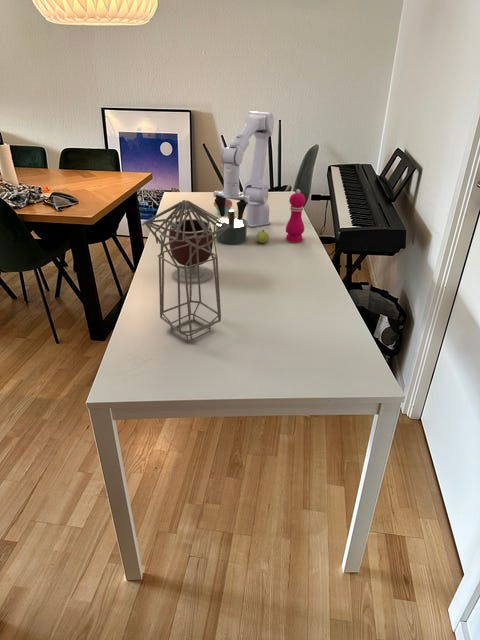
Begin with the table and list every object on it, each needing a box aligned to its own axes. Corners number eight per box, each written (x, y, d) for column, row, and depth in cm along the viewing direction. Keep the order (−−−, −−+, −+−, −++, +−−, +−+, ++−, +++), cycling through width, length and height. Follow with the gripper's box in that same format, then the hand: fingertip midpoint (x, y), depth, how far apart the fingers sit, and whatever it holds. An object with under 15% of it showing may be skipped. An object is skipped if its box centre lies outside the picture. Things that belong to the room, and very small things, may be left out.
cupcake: (231, 217, 201) (232, 190, 195) (213, 216, 201) (212, 189, 195) (232, 211, 208) (232, 185, 202) (214, 210, 209) (213, 184, 202)
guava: (264, 239, 177) (264, 226, 175) (270, 243, 174) (271, 230, 171) (254, 241, 175) (254, 228, 173) (260, 245, 172) (261, 232, 169)
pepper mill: (282, 241, 177) (285, 190, 166) (289, 235, 182) (292, 185, 172) (299, 244, 174) (303, 192, 163) (305, 238, 179) (310, 188, 169)
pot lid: (237, 217, 182) (237, 204, 179) (253, 227, 172) (253, 213, 170) (209, 222, 176) (209, 208, 173) (224, 232, 167) (224, 217, 164)
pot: (236, 232, 184) (237, 216, 181) (251, 241, 176) (252, 225, 172) (211, 236, 179) (210, 221, 176) (225, 246, 171) (225, 230, 167)
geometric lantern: (197, 311, 128) (192, 188, 110) (232, 333, 118) (233, 202, 100) (149, 330, 119) (135, 199, 101) (183, 356, 109) (175, 216, 91)
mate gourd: (207, 264, 156) (206, 208, 146) (218, 281, 145) (217, 221, 134) (163, 269, 152) (158, 211, 142) (170, 287, 141) (166, 226, 130)
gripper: (209, 181, 166) (209, 217, 173) (244, 186, 160) (243, 223, 167) (218, 177, 171) (218, 212, 178) (252, 182, 166) (251, 218, 172)
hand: (231, 217), depth 173 cm, fingers open, 7 cm apart
